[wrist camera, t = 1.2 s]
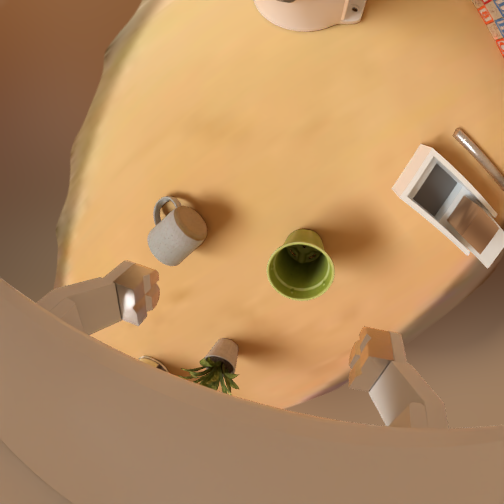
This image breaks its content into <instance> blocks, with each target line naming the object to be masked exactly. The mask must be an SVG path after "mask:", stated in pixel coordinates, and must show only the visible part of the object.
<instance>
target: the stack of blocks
mask: <svg viewBox="0 0 504 504" xmlns="http://www.w3.org/2000/svg"><path fill="white" fill-rule="evenodd" d="M472 2H473V3H474V5H475V6H476V8H477V10H478V12H479V13H480V15H481V17H482V18H483V20H484V22H485V24H486V25H487V27H488V29H489V31H490V33H491V34H492V36H493V38H494V40H495V41H496V43H497V45H498V47H499V49H500V51H501V53H502V55H503V57H504V0H472Z"/></svg>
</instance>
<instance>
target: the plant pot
mask: <svg viewBox="0 0 504 504" xmlns="http://www.w3.org/2000/svg"><path fill="white" fill-rule="evenodd" d="M303 245H305V246H306V248H303ZM290 250H292V251H293V253H294V254H295V255H296V256H294V255H293V254H292V253H291V252H290ZM314 254H316V256H315V257H313V258H311V259H309V257H311V256H313V255H314ZM334 275H335V269H334V264H333V261H332V259H331V258H330V256H329V255H328V254H327V252H326V251H325V249H324V246H323V242H322V240H321V238H320V236H319V235H318V234H317V233H315V232H314V231H312V230H306V229H299V230H296V231H294V232H292V233H291V234H290V235H289V236H288V238H287V240H286V241H285V243H284V244H283V245H282V246H281V247H279V248H278V249H277V250H276V251H275V252H274V253H273V254H272V255H271V257H270V259H269V261H268V264H267V276H268V280H269V282H270V284H271V285H272V287H273V288H274V289H275V290H276V291H277V292H278V293H280V294H281V295H282V296H284V297H286V298H289V299H292V300H298V301H306V300H311V299H315V298H317V297H319V296H321V295H322V294H324V293H325V292H326V291H327V290H328V289H329V287H330V286H331V284H332V282H333V279H334Z"/></svg>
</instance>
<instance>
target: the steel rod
mask: <svg viewBox="0 0 504 504" xmlns="http://www.w3.org/2000/svg"><path fill="white" fill-rule="evenodd" d="M453 137H454V138H455V139H456V140H457V141H458V142H459V143H460V144H461V145H463V146H464V147H465V148H466V149H467V150H468V151H469V153H470V154H471V155H472V156H473V157H474V158H475V159H476V160H477V161H478V162H479V163H480V164H481V165H482V166H483V167H484V169H485V170H486V171H487V172H488V173H489V174H490V175H491V176H492V178H493V179H494V180H495V181H496V182H497V184H498V185H499V186H500V187H501V188H502V190H503V191H504V176H503V175H502V174H501V173H500V172H499V170H498V169H497V168H496V167H495V166H494V164H493V163H492V162H491V161H490V160H489V159H488V158H487V156H486V155H485V154H484V153H483V152H482V151H481V150H480V149H479V148H478V147H477V146H476V144H475V143H474V142H473V141H472V140H471V139H470V138H469V137H468V136H467V135H466V134H465V133H464V132H463V131H462V130H461V129H460V128H457V129H456V130H455V132H454V134H453Z"/></svg>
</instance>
